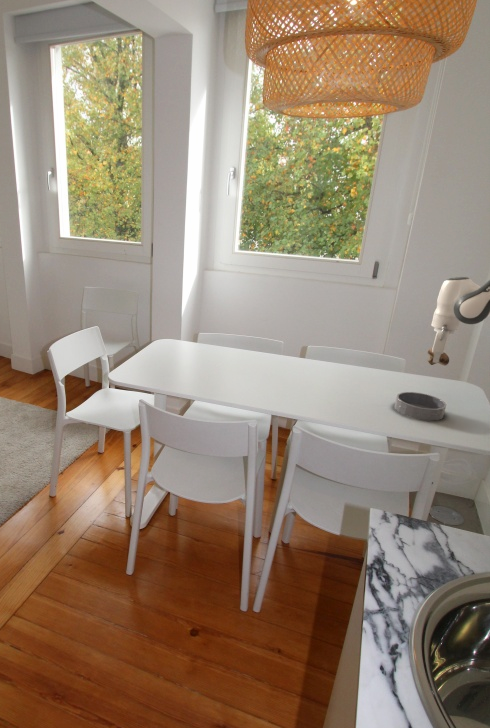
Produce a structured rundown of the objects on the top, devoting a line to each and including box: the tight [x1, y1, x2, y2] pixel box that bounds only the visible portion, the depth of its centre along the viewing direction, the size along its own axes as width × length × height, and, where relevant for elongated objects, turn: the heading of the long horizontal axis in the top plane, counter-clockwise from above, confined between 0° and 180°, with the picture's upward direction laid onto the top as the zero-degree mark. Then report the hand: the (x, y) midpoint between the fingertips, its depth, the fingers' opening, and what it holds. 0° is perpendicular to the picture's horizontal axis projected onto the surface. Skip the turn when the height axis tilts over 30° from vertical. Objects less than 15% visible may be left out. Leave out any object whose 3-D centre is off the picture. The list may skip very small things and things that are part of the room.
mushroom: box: [427, 348, 450, 366], centre depth 173 cm, size 8×8×6 cm
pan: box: [394, 391, 447, 421], centre depth 164 cm, size 15×15×4 cm
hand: (436, 359), depth 173 cm, fingers closed on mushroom, 7 cm apart
